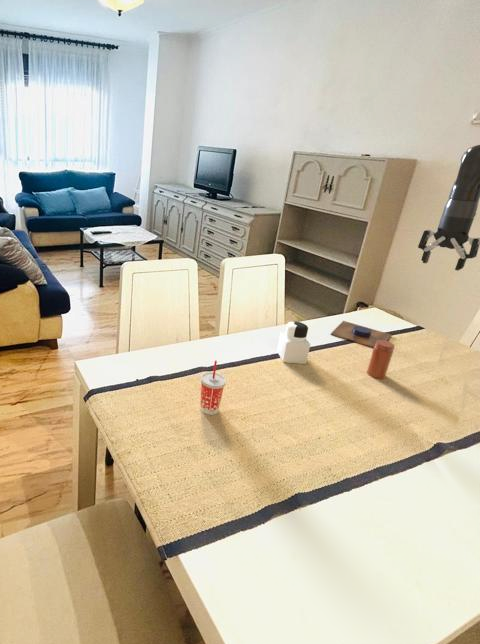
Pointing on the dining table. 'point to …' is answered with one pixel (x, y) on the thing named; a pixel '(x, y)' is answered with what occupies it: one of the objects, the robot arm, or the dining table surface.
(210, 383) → the beverage cup
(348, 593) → the dining table surface
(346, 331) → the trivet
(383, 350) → the jar
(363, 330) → the lid
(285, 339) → the medicine bottle
